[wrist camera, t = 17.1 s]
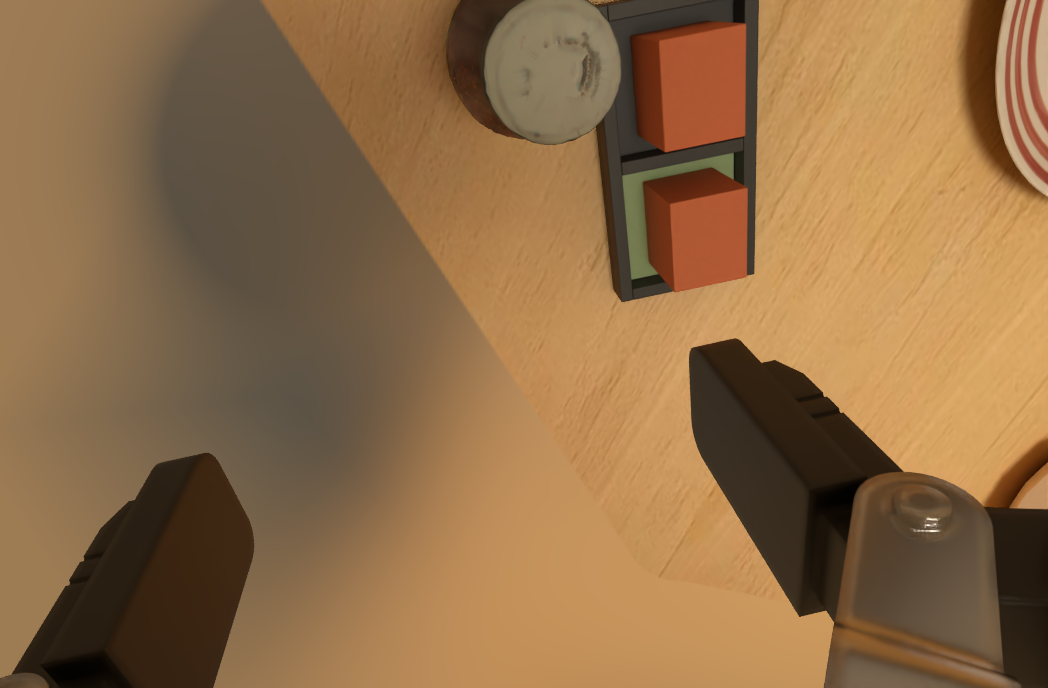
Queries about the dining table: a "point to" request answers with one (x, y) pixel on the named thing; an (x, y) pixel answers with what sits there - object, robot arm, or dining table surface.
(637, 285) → the pad holder
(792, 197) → the dining table surface
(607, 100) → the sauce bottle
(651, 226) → the orange block
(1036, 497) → the white vase
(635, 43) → the orange rectangular block
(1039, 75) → the dinner plate
